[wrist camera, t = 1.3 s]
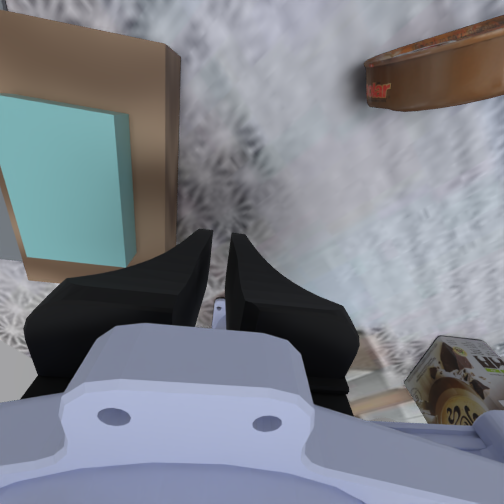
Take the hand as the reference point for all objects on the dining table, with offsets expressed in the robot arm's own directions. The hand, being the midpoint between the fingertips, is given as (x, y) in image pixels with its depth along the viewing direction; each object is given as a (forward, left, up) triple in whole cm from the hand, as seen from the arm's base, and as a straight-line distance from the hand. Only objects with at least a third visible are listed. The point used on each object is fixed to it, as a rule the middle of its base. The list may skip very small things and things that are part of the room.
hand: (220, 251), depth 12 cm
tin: (+11, -14, -11) cm, 21 cm away
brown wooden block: (0, +9, -10) cm, 14 cm away
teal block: (0, +9, -6) cm, 11 cm away
